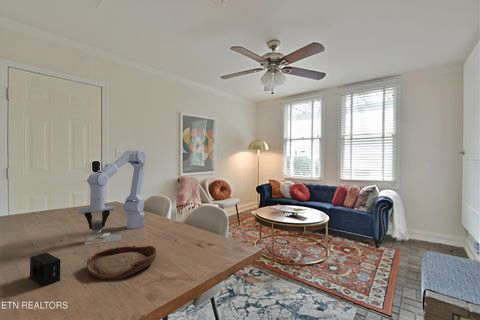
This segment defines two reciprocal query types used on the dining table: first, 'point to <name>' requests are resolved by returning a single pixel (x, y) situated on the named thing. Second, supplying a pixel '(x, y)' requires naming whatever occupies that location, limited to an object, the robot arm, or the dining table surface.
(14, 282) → the dining table surface
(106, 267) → the basket
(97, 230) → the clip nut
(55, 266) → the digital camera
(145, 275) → the dining table surface
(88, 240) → the flange plate
